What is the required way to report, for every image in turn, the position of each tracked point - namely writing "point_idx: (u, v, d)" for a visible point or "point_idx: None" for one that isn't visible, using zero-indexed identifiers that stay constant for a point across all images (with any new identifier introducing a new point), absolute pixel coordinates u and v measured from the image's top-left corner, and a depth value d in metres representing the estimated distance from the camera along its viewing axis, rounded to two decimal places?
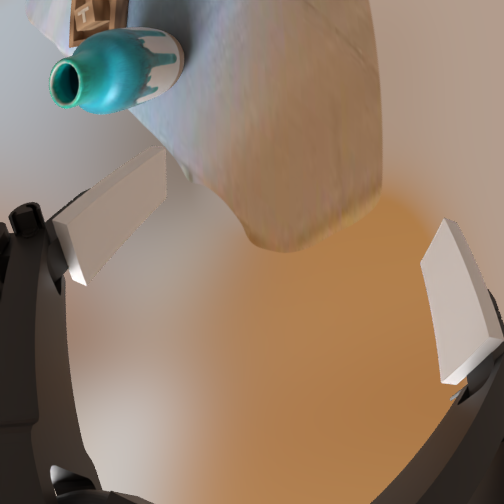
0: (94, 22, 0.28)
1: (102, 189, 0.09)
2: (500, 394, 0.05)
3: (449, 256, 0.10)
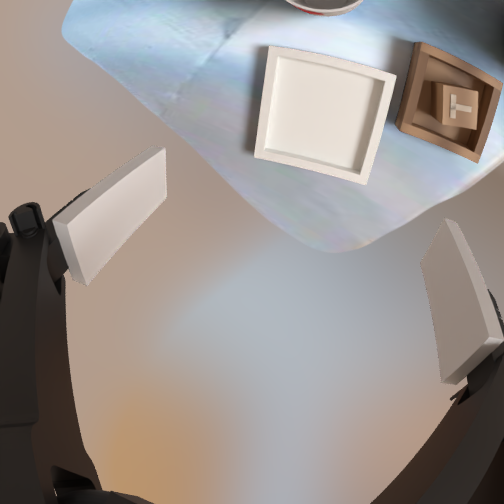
0: None
1: (102, 189, 0.09)
2: (500, 394, 0.05)
3: (449, 256, 0.10)
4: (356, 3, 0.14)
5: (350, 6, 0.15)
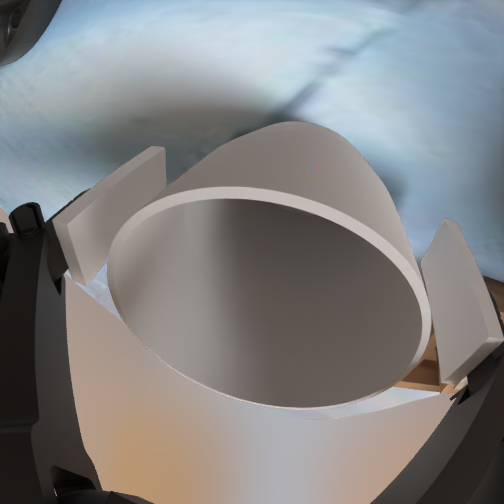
0: None
1: (102, 189, 0.09)
2: (500, 394, 0.05)
3: (449, 256, 0.10)
4: (335, 405, 0.08)
5: (320, 407, 0.09)
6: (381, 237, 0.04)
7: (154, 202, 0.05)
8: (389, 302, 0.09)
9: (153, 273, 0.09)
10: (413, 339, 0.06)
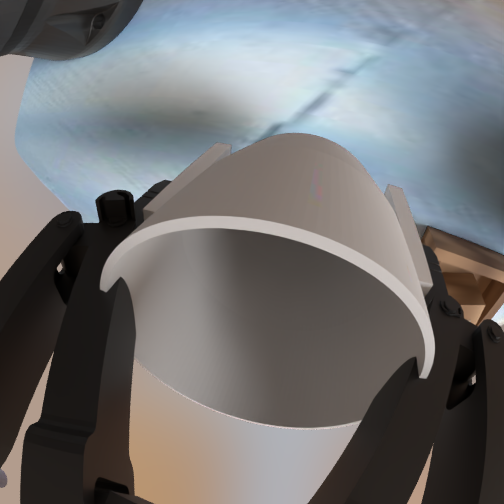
0: None
1: (187, 181, 0.10)
2: (436, 344, 0.06)
3: None
4: (334, 426, 0.08)
5: (319, 427, 0.08)
6: (387, 271, 0.04)
7: (145, 228, 0.05)
8: (391, 324, 0.08)
9: (149, 291, 0.09)
10: None
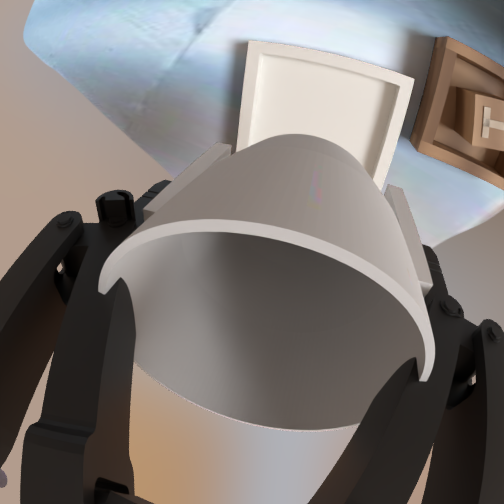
0: None
1: (187, 181, 0.10)
2: (436, 344, 0.06)
3: None
4: (333, 429, 0.08)
5: (318, 430, 0.08)
6: (387, 275, 0.04)
7: (142, 231, 0.05)
8: (391, 326, 0.08)
9: (148, 293, 0.09)
10: None
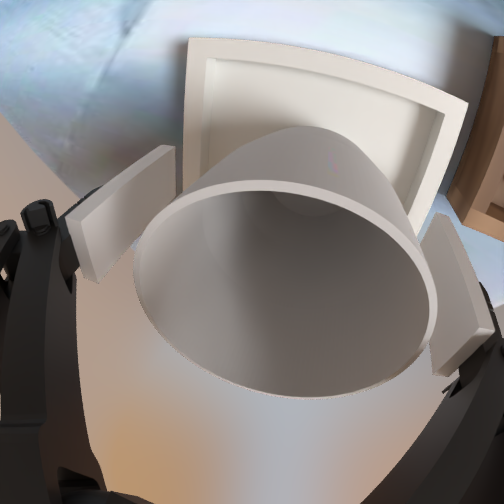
0: None
1: (114, 187, 0.10)
2: (492, 386, 0.05)
3: (440, 249, 0.10)
4: (346, 394, 0.09)
5: (332, 396, 0.09)
6: (394, 226, 0.05)
7: (190, 194, 0.06)
8: (396, 295, 0.09)
9: (173, 267, 0.10)
10: (420, 325, 0.07)
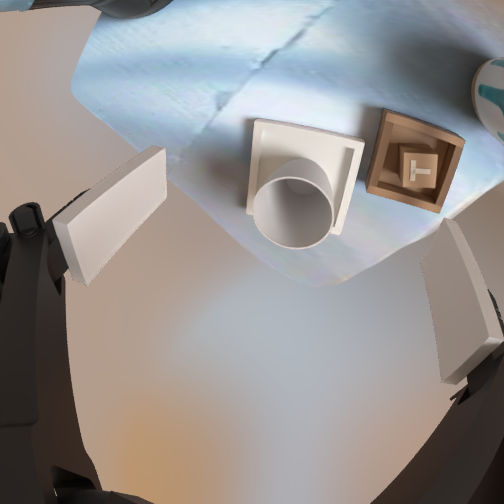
0: None
1: (102, 189, 0.09)
2: (500, 394, 0.05)
3: (449, 256, 0.10)
4: (316, 243, 0.30)
5: (312, 245, 0.30)
6: (315, 184, 0.26)
7: (274, 179, 0.27)
8: (330, 212, 0.30)
9: (259, 204, 0.31)
10: (332, 212, 0.28)
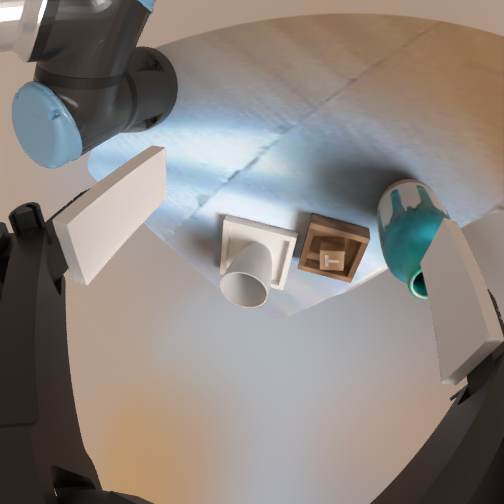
0: (344, 252, 0.47)
1: (102, 189, 0.09)
2: (500, 394, 0.05)
3: (449, 256, 0.10)
4: (258, 305, 0.50)
5: (256, 306, 0.50)
6: (255, 277, 0.46)
7: (231, 272, 0.47)
8: None
9: (224, 280, 0.51)
10: None
